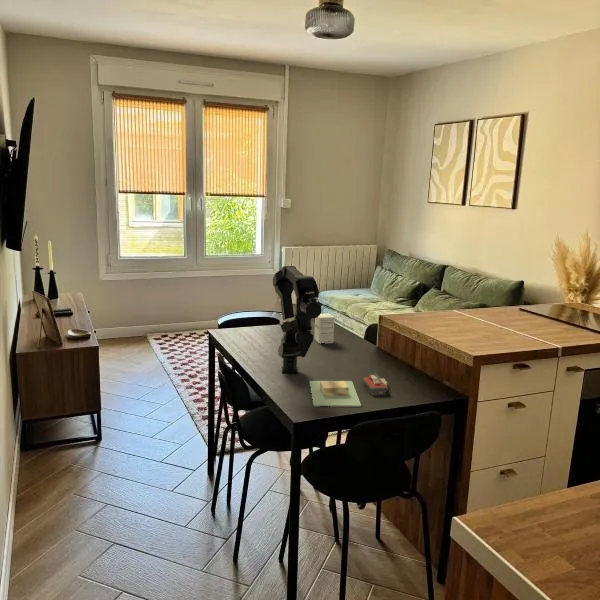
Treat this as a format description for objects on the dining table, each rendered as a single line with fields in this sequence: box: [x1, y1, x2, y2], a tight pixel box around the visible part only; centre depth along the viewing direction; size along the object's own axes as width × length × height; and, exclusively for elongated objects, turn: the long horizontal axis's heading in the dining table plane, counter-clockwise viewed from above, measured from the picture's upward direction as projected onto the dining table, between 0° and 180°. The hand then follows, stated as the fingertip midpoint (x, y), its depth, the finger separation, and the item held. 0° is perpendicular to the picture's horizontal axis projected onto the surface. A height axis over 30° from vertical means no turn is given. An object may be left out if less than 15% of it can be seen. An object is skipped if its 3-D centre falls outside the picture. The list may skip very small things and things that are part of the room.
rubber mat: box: [308, 380, 362, 408], centre depth 190 cm, size 22×16×1 cm
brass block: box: [320, 380, 349, 396], centre depth 189 cm, size 9×6×3 cm, turn 99°
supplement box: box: [313, 312, 335, 345], centre depth 250 cm, size 7×7×13 cm
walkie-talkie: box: [361, 372, 391, 396], centre depth 198 cm, size 9×4×20 cm
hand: (302, 353), depth 195 cm, fingers open, 9 cm apart
